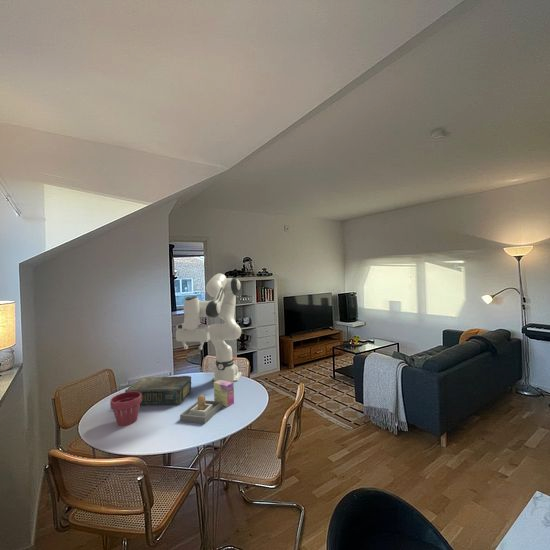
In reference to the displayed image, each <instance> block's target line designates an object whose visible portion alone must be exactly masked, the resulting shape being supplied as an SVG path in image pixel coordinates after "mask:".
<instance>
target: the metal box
mask: <svg viewBox="0 0 550 550" xmlns="http://www.w3.org/2000/svg"><path fill="white" fill-rule="evenodd" d="M130 391H138V392H140V393H141V395H142V401H141V403H140V406H139V407H143V406H145V407H146V406H149V407H150V406H174V405H175V406H179V405H181V404H182V403H183V402H184V401H185V399H186V398H187V397H188V396H189V395H190V393H191V392H192V376H191V375H179V376H161V377H158V376H157V377H153V376H152V377H151V376H149V377H148V376H147V377H141V378H139V379H138V380H137V381H136V382H134V383H133V384H132V385H131V386H130V385H129V386H128V388H127V389H125V390H124V393H125V392H130Z"/></svg>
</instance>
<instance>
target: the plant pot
mask: <svg viewBox="0 0 550 550" xmlns="http://www.w3.org/2000/svg"><path fill="white" fill-rule="evenodd" d="M141 401H142V395H141V393H140V392H138V391H130V392H125V391H124V392H122V393H119V394H116V395H115V396H113V397H111V398H110V402H109V404H110V409H111V410H112V411H113V415H114V418H115V421H116V423H117V425H118V426H119V427H125V426H129V425H132V424H134V423H135V422H137V420H138V418H139V410H140V407H141V406H140V403H141Z"/></svg>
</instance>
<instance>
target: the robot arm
mask: <svg viewBox="0 0 550 550" xmlns="http://www.w3.org/2000/svg"><path fill="white" fill-rule="evenodd" d="M241 285H242V283H241V280H240V279H239V278H236V277H226V275H225V274H223V273H221V272H220V273H217V274H214V275H213V276H212V277H211V278H210V279H209V281H208V282H207V283H206V285H205V290H206V293H207V294H208V295H209V297H212V298H214V299H212V300H200V299H199V296H197V295H190V296H187V297H185V298H184V299H183V314H184V315H183V316H184V319H183V322H182V323H180V324H177V325H175V327H176V331H175V340H176V342H181V345H182V346H183V350H188V349H189V345H187V342H189V343H194V342H195V343H199V344H200V345H199V346H198V350H200V351H202V350H203V346H204V344H205V343H207V342H209V341H210V342H211V343H212V345H213V346H214V349H215V367H214V373H213V374H214V375H213V376H214V377H212V380H213V381H214V382H216V381H218V380H224V381H228V382H232V383H235V382H238V381H239V380H240V379H241V376H242V374H243V373H242V372H241V371H239V367H238V366H237V365H236V364H235V360H236V358H235V357H233V348H232V346H231V345H229V344H227V343H226V341H232V340H233V341H235V340H238V339H240V337H241V336H242V327H240V325H239V324H238V323H237V322H236V320H235V311H236V304H237V299H236V298H237V297H236V296H237V294H238V293H239V292H240V290H241V287H242V286H241ZM217 317H219V318H220V319H221V320H223V321H224V323H213V324H208V325H207V324H201V318H214V319H215V318H217Z"/></svg>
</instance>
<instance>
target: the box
mask: <svg viewBox="0 0 550 550" xmlns="http://www.w3.org/2000/svg"><path fill="white" fill-rule="evenodd" d="M234 383H235V382H228V381H224V380H218V381H216V382H215V381H214V382H213V401H218V402H222V407H223V406H224V407H226V408H229V407H230V406H232V405H233V404H235V389H234V388H235V387H234V386H235V385H234Z"/></svg>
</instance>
